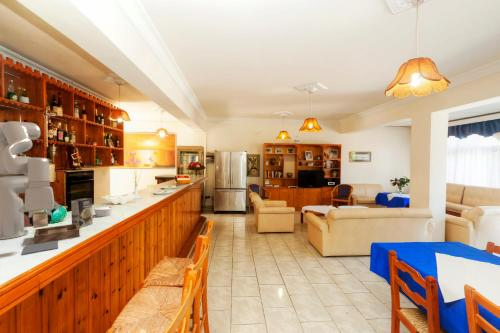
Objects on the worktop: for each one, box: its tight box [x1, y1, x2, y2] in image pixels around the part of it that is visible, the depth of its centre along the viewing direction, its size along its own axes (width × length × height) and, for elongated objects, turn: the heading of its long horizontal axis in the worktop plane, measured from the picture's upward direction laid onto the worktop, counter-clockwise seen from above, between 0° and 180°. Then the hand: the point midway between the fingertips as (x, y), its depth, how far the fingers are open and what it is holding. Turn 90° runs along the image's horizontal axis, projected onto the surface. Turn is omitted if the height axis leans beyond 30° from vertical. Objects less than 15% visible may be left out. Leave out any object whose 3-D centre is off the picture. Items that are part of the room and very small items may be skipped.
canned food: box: [24, 209, 44, 228], centre depth 154 cm, size 11×11×12 cm
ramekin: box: [93, 206, 113, 218], centre depth 177 cm, size 11×11×5 cm
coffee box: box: [71, 197, 94, 229], centre depth 150 cm, size 9×6×16 cm
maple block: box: [32, 210, 49, 229], centre depth 114 cm, size 5×5×6 cm
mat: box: [22, 240, 59, 256], centre depth 115 cm, size 12×12×1 cm
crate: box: [33, 223, 81, 245], centre depth 130 cm, size 18×14×4 cm
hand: (40, 223), depth 114 cm, fingers closed on maple block, 5 cm apart
